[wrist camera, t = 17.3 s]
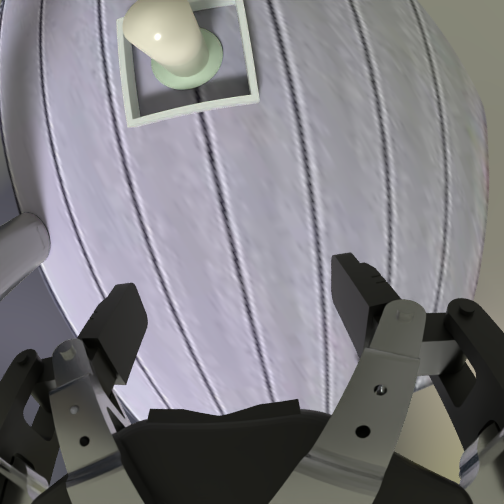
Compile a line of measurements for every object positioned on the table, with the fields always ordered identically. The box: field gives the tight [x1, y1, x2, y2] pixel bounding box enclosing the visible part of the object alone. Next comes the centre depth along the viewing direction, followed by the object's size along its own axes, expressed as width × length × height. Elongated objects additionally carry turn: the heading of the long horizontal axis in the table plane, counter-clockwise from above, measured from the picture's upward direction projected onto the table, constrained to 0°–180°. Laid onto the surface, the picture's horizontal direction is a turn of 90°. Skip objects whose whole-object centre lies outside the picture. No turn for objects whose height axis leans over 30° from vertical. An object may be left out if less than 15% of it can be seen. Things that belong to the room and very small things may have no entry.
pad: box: [151, 28, 223, 90], centre depth 27 cm, size 9×9×1 cm
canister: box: [122, 0, 209, 77], centre depth 21 cm, size 6×6×14 cm
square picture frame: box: [116, 0, 260, 128], centre depth 26 cm, size 16×16×3 cm
